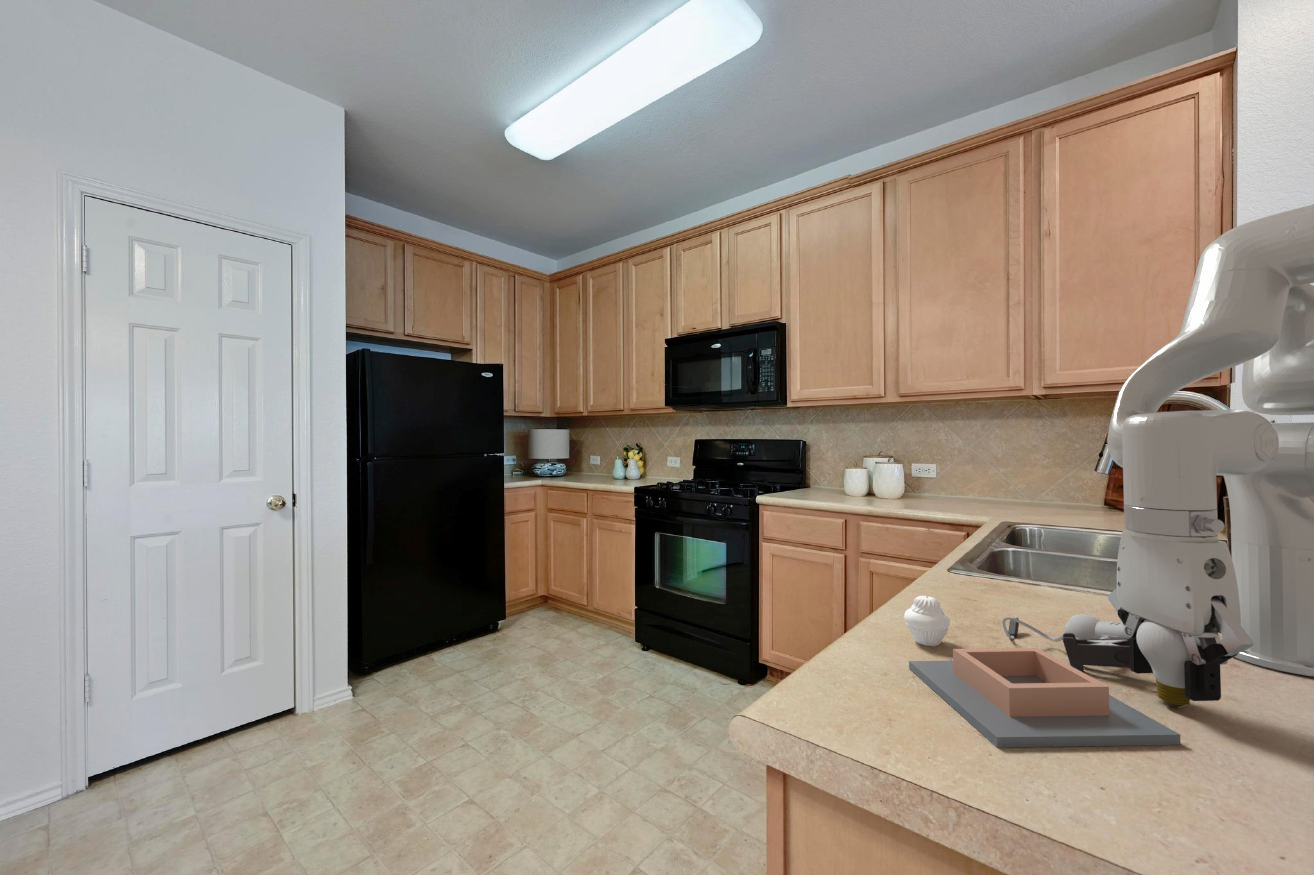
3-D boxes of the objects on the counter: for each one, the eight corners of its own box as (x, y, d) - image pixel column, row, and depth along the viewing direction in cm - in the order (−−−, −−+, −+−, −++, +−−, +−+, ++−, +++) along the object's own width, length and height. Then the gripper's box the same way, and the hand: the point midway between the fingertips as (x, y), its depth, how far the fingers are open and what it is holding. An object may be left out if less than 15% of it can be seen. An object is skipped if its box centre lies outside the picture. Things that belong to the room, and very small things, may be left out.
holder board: (1045, 666, 70) (1044, 636, 70) (1180, 744, 52) (1179, 703, 52) (909, 668, 70) (908, 638, 70) (997, 747, 52) (996, 706, 52)
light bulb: (1220, 726, 55) (1218, 629, 55) (1144, 711, 58) (1142, 620, 58) (1201, 701, 60) (1199, 613, 60) (1132, 689, 63) (1130, 605, 63)
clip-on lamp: (989, 664, 78) (1142, 683, 63) (976, 620, 79) (1124, 628, 64) (1028, 640, 84) (1176, 652, 69) (1016, 599, 85) (1159, 603, 70)
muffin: (960, 646, 77) (959, 598, 77) (930, 653, 75) (929, 603, 75) (924, 632, 83) (923, 587, 83) (895, 638, 81) (894, 592, 81)
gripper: (1295, 536, 51) (1300, 726, 51) (1133, 511, 68) (1136, 653, 68) (1217, 538, 51) (1221, 728, 51) (1074, 513, 68) (1077, 654, 68)
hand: (1172, 683), depth 59 cm, fingers closed on light bulb, 5 cm apart
